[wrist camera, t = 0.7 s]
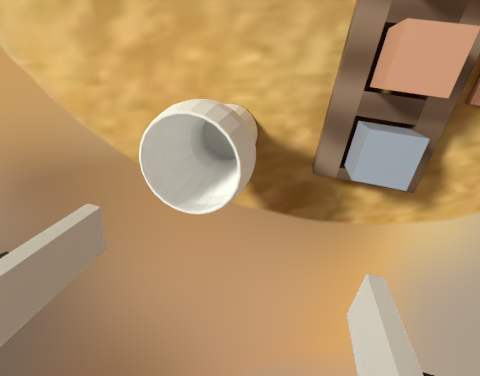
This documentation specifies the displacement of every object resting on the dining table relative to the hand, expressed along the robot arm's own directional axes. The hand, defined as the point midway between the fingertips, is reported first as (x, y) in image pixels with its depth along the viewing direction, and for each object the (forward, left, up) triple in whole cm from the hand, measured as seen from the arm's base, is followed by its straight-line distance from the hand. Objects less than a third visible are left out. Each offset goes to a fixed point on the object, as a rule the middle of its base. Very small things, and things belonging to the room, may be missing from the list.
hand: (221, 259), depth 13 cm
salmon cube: (-11, +12, -22) cm, 28 cm away
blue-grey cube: (-2, +12, -22) cm, 25 cm away
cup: (0, -6, -25) cm, 26 cm away
